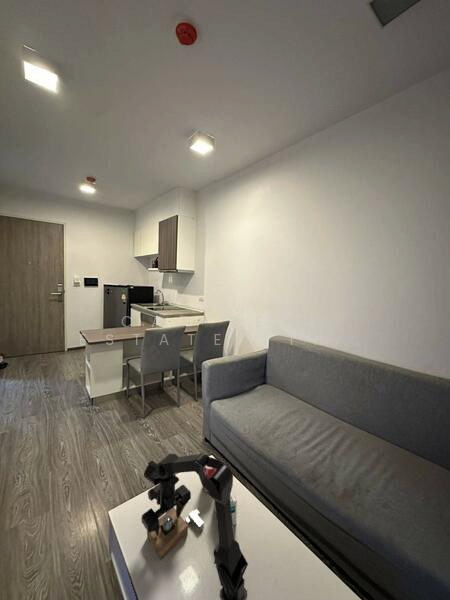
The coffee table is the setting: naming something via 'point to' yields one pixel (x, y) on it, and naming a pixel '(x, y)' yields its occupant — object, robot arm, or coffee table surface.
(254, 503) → the coffee table surface
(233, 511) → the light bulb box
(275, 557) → the coffee table surface
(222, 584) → the robot arm
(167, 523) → the cylinder
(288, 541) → the coffee table surface
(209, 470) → the soda can
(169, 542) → the bore block
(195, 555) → the coffee table surface
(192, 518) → the grey t-shaped block
